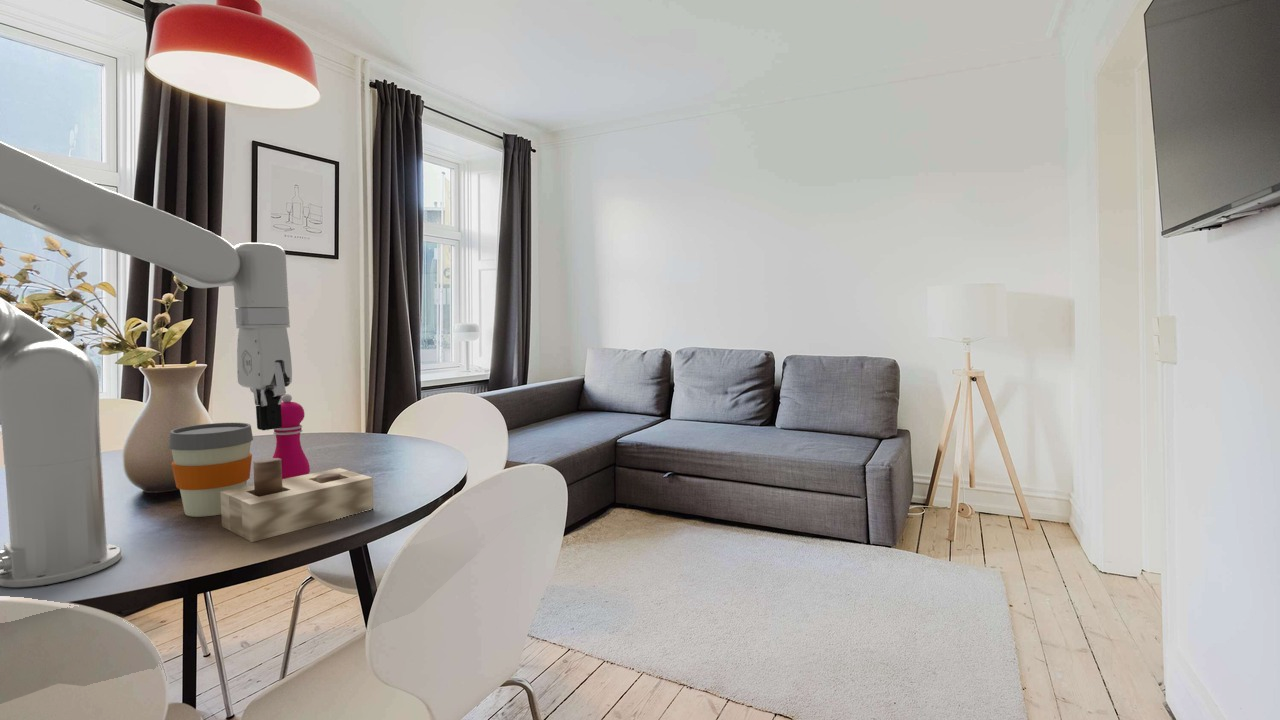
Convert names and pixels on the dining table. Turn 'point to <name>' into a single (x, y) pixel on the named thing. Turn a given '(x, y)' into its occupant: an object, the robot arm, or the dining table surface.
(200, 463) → the reusable coffee cup
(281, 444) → the pepper mill
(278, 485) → the near walnut peg
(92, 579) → the dining table surface
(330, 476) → the far walnut peg
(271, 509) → the oak socket block
